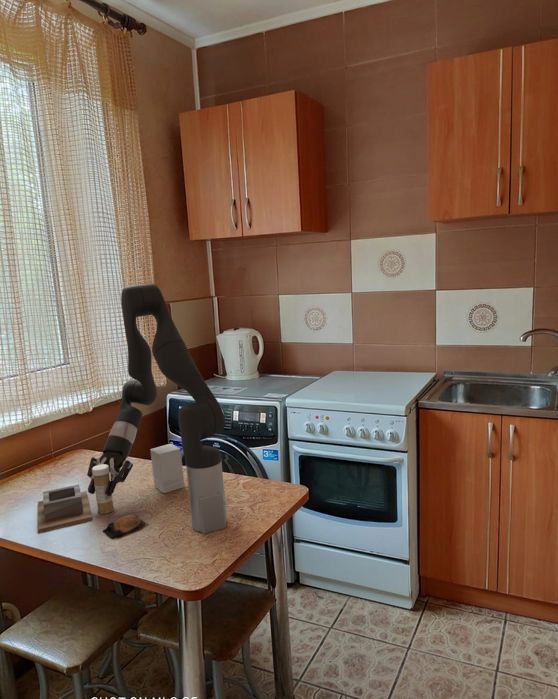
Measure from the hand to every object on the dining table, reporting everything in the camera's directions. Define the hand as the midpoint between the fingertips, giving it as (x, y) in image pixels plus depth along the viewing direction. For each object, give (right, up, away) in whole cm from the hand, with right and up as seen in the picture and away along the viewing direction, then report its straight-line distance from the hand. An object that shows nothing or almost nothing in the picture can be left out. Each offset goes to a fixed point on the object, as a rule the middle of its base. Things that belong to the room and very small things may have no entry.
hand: (99, 493), depth 156 cm
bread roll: (+10, -8, -9) cm, 15 cm away
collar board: (-11, -6, +4) cm, 14 cm away
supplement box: (+17, -2, +17) cm, 24 cm away
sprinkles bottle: (+1, -6, +3) cm, 7 cm away
